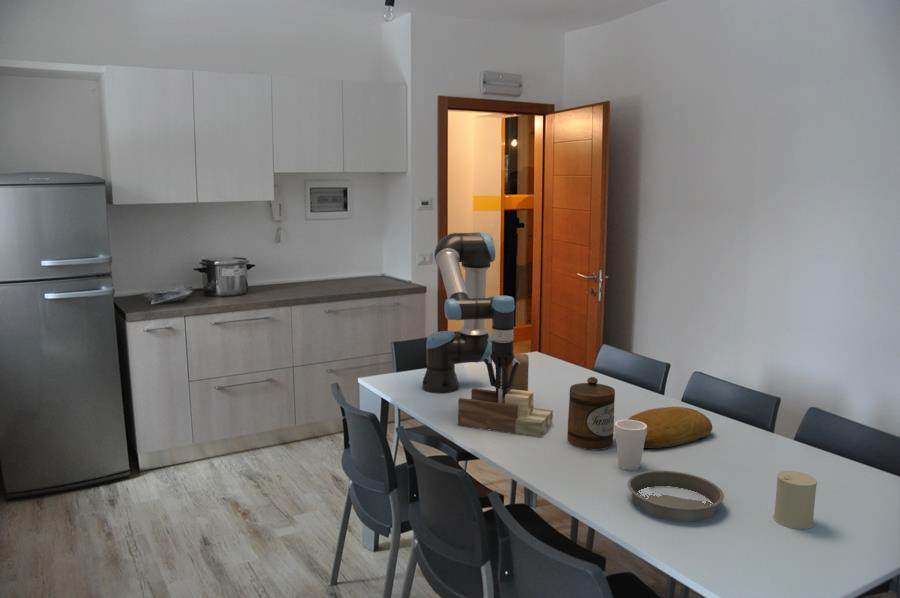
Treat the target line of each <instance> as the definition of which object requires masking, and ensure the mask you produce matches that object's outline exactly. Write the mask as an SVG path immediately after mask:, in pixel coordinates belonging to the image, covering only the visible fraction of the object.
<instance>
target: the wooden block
mask: <svg viewBox="0 0 900 598" xmlns="http://www.w3.org/2000/svg"><path fill="white" fill-rule="evenodd" d="M513 355H514V359H516V360H517V361H520V365H519V366H518V367H517V371H516V375H515V378H514V382H513V386H512V387H510V388H507V392H509V391H510V390H511V389H514V390H522V391H529V366H530V365H529V361H530V360H529V355H528V354H525V353H513ZM512 364H513V362H511V364H510V365H509V368H508V381H509V378H510V374H511V370H512V367H513V365H512ZM502 380H503V370H502V368H501V386H500V387H502Z"/></svg>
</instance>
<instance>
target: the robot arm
mask: <svg viewBox="0 0 900 598" xmlns="http://www.w3.org/2000/svg"><path fill="white" fill-rule="evenodd" d="M494 242H495V241H494V239H493V237H492V235H491V234H490V233H488V232H452V233H449V234H447V235H445V236H443V238H441V239H440V240H439V241H438V243H437V245H436V247H435V249H434V261H435V264H436V266H438V268H439V271H440V275H441V277H442V281H443V286H444V289H445V292H446V297H447V299H445V301H444V317H445V318H446V319H447V320H450V321H451V320H453V321H463V326H462V327H461V328H460V329H459V334H456V333H455V332H454V331H453V330H441V331H436V332H433V333H431V334H429V335H428V336H427V337H426V338H427V339H426V345H425V349H426V371H425V374H424V377H423V378H422V382H421V383H422V384H421V385H422V390H424V391H426V392H428V393H429V392H430V393H437V394H441V393H443V394H444V393H451V392H455V391H457V390H459V387H460V385H459V384H460V383H459V380H458V377H457V374H456V369H455V365H456V364H458V363H459V364H467V363H475V364H476V363H477V364H478V363H483V362H484V364H485V365H486V369H487V373H488V374H487V375H488V379H489V382H490V386H491V387H494V388H495V391H496V397H498V403H504V398H505V395H506V394H507V388H510V387H512V386H513V382H514V378H515V375H516V371H517V367H518V366H519V365H520V361H517V360H516V359H514V355H513V354H514V334H515V333H514V329H515V325H514V323H515V308H516V305H515V298H514V297H513V296H509V295H494V296H488V297H486V293H487V291H486V290H487V289H486V288H487V271H488V270H489V269H490V268H491V263H493V262H495V260H496V247H495V246H496V245H495V243H494ZM460 263H461V265H460ZM461 267H462V268H463V270H464V272H465V273H464V276H463V274H462V270H461ZM485 320H491V321H492V322H491V334H490V333H489V331H488V329H487V328H486V327H485ZM511 362H513V364H512V365H513V367H512V370H511V374H510V378H509V381H508V368H509V365H510V364H511ZM493 364H494V365H495V367H493ZM494 368H495V371H494ZM501 368H502V370H503V380H502V387H501Z"/></svg>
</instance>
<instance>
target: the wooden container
mask: <svg viewBox="0 0 900 598" xmlns="http://www.w3.org/2000/svg"><path fill="white" fill-rule="evenodd" d="M598 381H599V380H598V378H596V377H594V376H591V377H590V376H589V377H587V380H586V382H581V383H575V384H572V385H571V386H570V387H569V395H568V396H569V400H568V414H567V415H568V416H567V435H566V436H567V438H566V440H567V442H568V443H569V444H570V445H571V444H572V446H573V445H574V447H576V448H579V447H580V449H583V448H585V449H584V450H592V449H596V450H604V448H605V449H608V448H610V447H611V446H612V445H613V442H614V433H615V400H616V398H615V397H616V389H614V387H612V386H609V385H605V384H601V383H599V382H598Z"/></svg>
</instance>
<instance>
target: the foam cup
mask: <svg viewBox="0 0 900 598" xmlns="http://www.w3.org/2000/svg"><path fill="white" fill-rule="evenodd" d="M614 433H615V440H616V451H617V464H618V465H619V466H620V467H622V468H621V469H623V468H624V469H623V470H626V469H628V470H627V471H635V469H636V470H639V469H640V468H639V467H641V464H642V463H641V462H642V458H643V453H644V448H645V447H644V443H645V437H646V435H647V425H646V424H645V423H643V422H640V421H636V420H627V419H621V420H620V419H619V420H617V421H614ZM619 466H618V467H619ZM620 467H619V468H620ZM638 468H639V469H638Z"/></svg>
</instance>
